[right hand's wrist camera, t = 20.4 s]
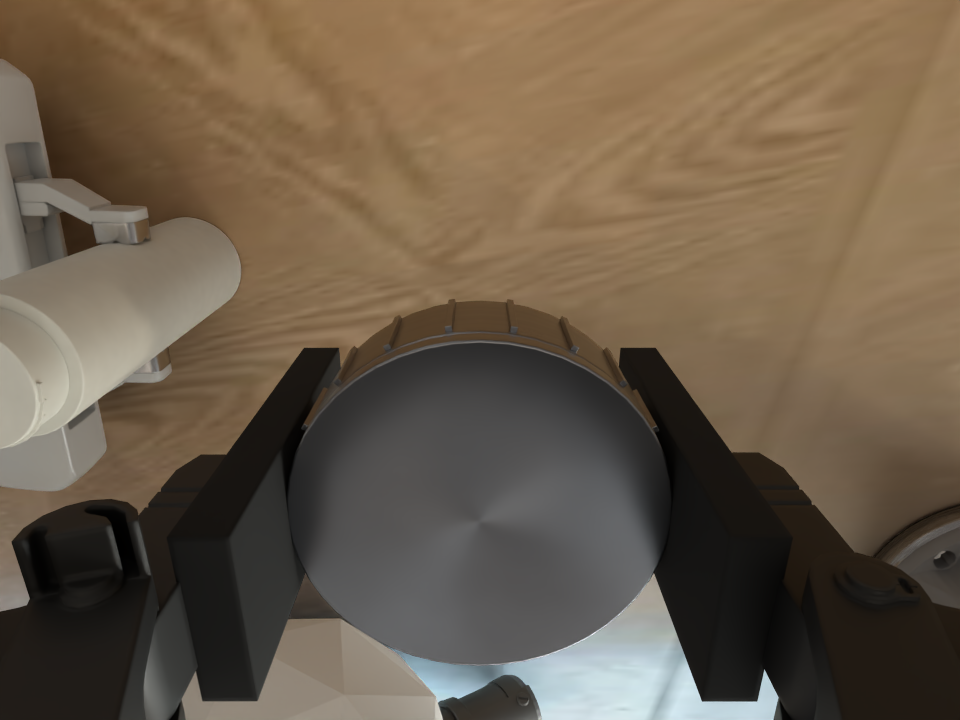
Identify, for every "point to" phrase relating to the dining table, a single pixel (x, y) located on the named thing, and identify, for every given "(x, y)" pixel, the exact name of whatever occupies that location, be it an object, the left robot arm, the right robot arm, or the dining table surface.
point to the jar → (103, 319)
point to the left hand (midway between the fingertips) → (154, 295)
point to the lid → (479, 486)
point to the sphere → (355, 684)
